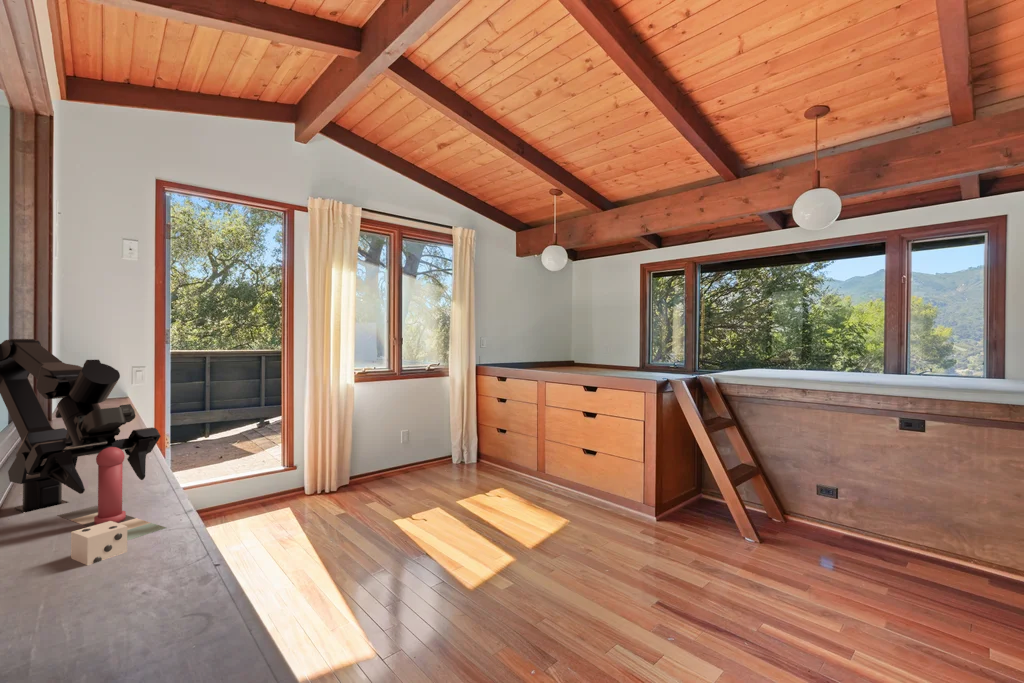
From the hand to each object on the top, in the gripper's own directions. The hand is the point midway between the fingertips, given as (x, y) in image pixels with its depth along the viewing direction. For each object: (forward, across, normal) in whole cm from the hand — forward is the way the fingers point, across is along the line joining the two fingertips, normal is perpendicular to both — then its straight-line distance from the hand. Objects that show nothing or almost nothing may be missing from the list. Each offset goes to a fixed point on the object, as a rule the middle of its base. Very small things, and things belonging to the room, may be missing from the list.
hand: (114, 485), depth 86 cm
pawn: (+4, 0, +6) cm, 7 cm away
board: (+5, 0, +6) cm, 8 cm away
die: (+15, -8, -4) cm, 18 cm away
